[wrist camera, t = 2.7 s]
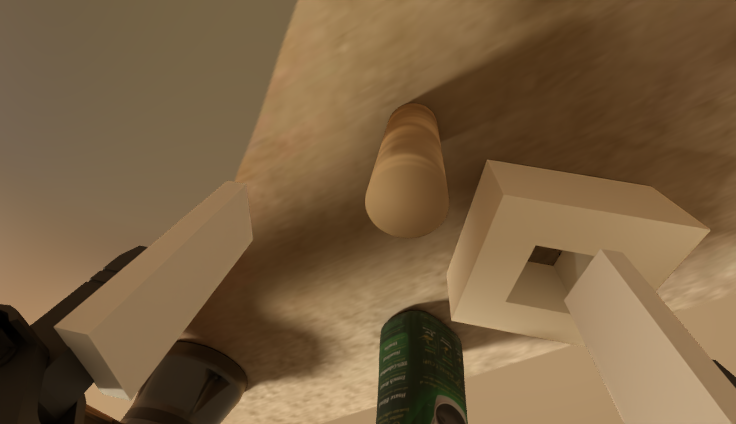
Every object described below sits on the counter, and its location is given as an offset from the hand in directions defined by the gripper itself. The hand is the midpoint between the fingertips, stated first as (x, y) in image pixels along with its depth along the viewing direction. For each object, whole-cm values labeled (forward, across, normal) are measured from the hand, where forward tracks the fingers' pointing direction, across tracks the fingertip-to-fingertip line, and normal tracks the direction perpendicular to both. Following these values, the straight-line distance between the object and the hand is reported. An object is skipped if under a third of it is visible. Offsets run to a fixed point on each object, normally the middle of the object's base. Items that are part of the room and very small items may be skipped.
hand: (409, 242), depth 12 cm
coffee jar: (+15, +6, -25) cm, 30 cm away
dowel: (+15, 0, 0) cm, 15 cm away
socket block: (+15, +13, -8) cm, 21 cm away
